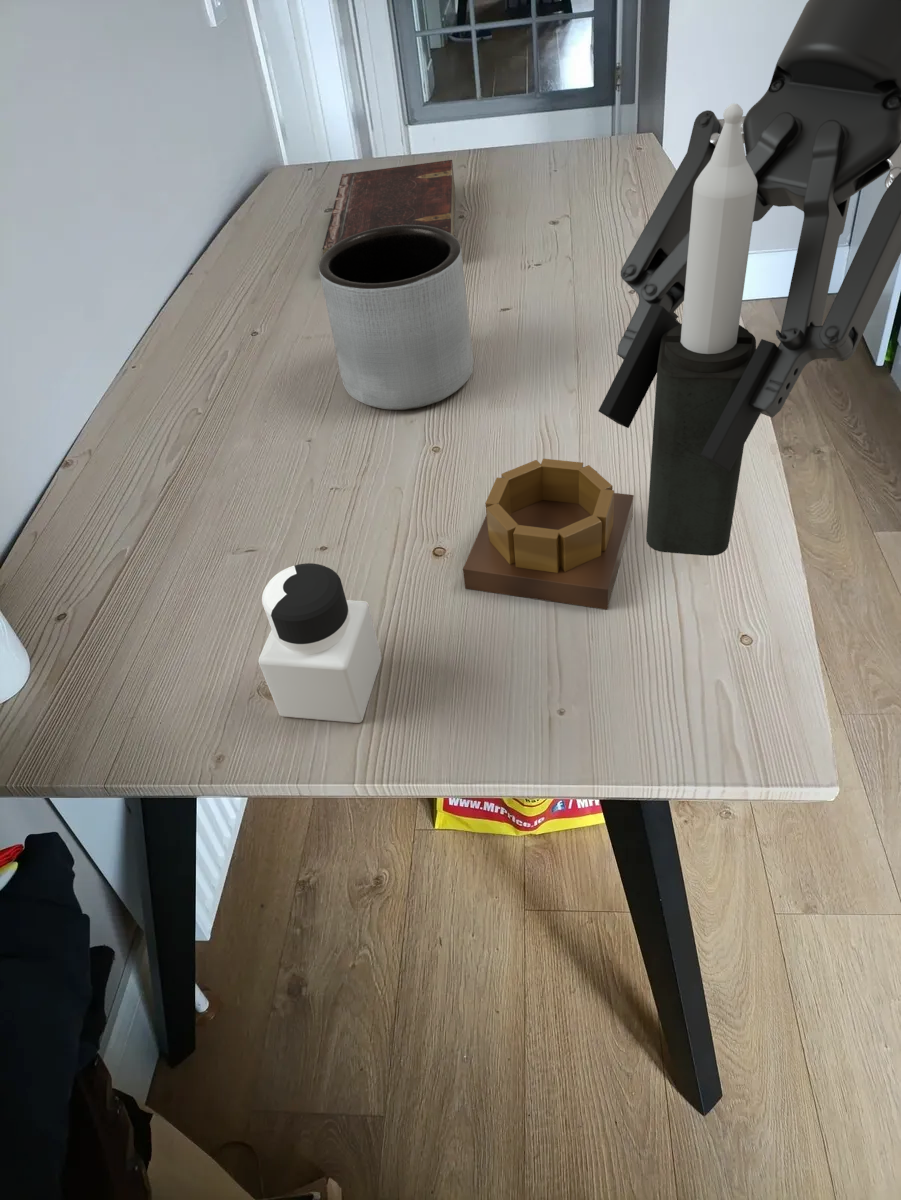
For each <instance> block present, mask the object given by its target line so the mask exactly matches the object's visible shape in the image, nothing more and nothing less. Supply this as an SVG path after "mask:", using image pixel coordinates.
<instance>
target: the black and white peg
mask: <svg viewBox="0 0 901 1200" xmlns="http://www.w3.org/2000/svg"><path fill="white" fill-rule="evenodd" d="M743 116H744V110H743V108H742V106H740V104H738V103H735V102H734V103H731V104H729V105H728V106H727V107H726V108H725V109H724V111H723V114H722V117H723V119H724V120H725V124H724V126H723V129H722V131H721V134H720V137H719V139H718V142H717V144H716V147H715V150H714V152H713V155H712V157H711V160H710V161H709V163H708V164H707V165H706V167H705V168H704V169H703V171H702V172H701V173H700V175H699V176H698V178H697V179H696V181H695V184H694V187H693V199H692V211H691V223H690V235H689V246H688V258H687V270H686V282H685V294H684V301H683V306H682V307H683V308H682V318H681V319H682V321H681V323H680V324H679V325H677V326H676V327H674V328H672V329H671V330H670V331H668V332H666V333H665V334H664V335H663V336H662V339H661V344H660V351H659V358H658V365H657V373H656V381H655V383H656V384H655V396H654V413H653V426H652V427H653V429H652V442H651V443H652V444H651V457H650V460H651V461H650V475H649V490H648V505H647V519H646V535H645V537H646V538H645V541H646V544H647V545H648V546H649V547H650V548H651V549H652V550H654V551H655V552H656V551H657V552H660V553H666V554H667V553H668V554H669V553H670V554H681V555H693V556H694V555H695V556H707V557H708V556H710V557H715V556H719V555H721V554H723V553H724V552H725V551H727V549H729V544H730V538H731V533H732V532H731V531H732V525H733V520H734V513H735V506H736V500H737V493H738V486H739V480H740V474H741V467H742V461H743V455H744V449H745V444H744V445H743V447H742V449H741V451H740V453H739V455H738V457H737V458H736V460H735V462H734V464H733V466H732V468H731V470H730V471H729V472H728V471H726V470H724V469H721V468H719V467H717V466H716V465H714V464H713V463H711V462H710V461H708V460H707V459H705V458H704V457H702V456H701V455H700V454H701V453H702V451H703V449H704V447H705V445H706V443H707V441H708V439H709V437H710V436H711V434H712V432H713V430H714V428H715V426H716V424H717V422H718V420H719V419H720V417H721V415H722V413H723V411H724V409H725V407H726V405H727V403H728V402H729V400H730V398H731V396H732V394H733V392H734V390H735V388H736V386H737V385H738V383H739V381H740V379H741V377H742V375H743V373H744V371H745V369H746V368H747V366H748V364H749V362H750V360H751V358H752V356H753V354H754V352H755V351H756V349H757V339H756V337H755V335H754V334H753V333H751V332H750V331H749V330H748V329H747V328H745V327H744V326H742V325H741V324H740V319H741V313H742V304H743V297H744V290H745V282H746V276H747V269H748V260H749V253H750V252H749V251H750V244H751V237H752V230H753V223H754V222H753V216H754V209H755V201H756V194H757V186H758V185H757V180H756V177H755V175H754V173H753V171H752V169H751V167H750V166H749V164H748V162H747V160H746V150H745V143H744V144H743V139H742V133H741V127H740V120H741V118H742V117H743Z"/></svg>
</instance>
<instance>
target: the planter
mask: <svg viewBox="0 0 901 1200" xmlns="http://www.w3.org/2000/svg"><path fill="white" fill-rule="evenodd" d="M318 273H319V278H320V283H321V287H322V291H323V296H324V300H325V306H326V311H327V314H328V319H329V324H330V325H329V326H330V330H331V335H332V339H333V345H334V350H335V354H336V360H337V364H338V369H339V374H340V379H341V382H342V385H343V387H344V389H345V391H346V392H347V394H348V395H349V396H350V397H351V398H353V399H354V400H356V401H358V402H360V403H362V404H364V405H367V406H370V407H372V408H378V409H381V410H388V411H407V410H413V409H414V410H415V409H421V408H424V407H428V406H430V405H433V404H436V403H439V402H441V401H443V400H445V399H446V398H448V397H450V396H451V395H453V394H455V393H456V392H458V391H459V390H460V389H461V388H462V387H463V386H464V385H465V384H466V383H467V382H468V380H470V377H471V375H472V373H473V370H474V350H473V342H472V333H471V332H472V331H471V325H470V316H469V309H468V299H467V290H466V282H465V281H466V280H465V273H464V263H463V253H462V245H461V243H460V241H459V240H458V238H457V237H456V235H454V236H453V235H452V234H450V233H448V232H446V231H444V230H441V229H438V228H434V227H429V226H422V225H395V226H387V227H381V228H376V229H371V230H368V231H364V232H361V233H358V234H355V235H352V236H350V237H348V238H346V239H344V240H342V241H340V242H338V243H337V244H335V245H334V246H332V247H331V248H330V249H328V250H327V251H326V252H325V253H324V255H323V256H322V255H321V258H320V259H319V262H318Z"/></svg>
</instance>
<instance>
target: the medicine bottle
mask: <svg viewBox="0 0 901 1200" xmlns="http://www.w3.org/2000/svg"><path fill="white" fill-rule="evenodd" d="M261 604H262V607H263V609H264V612H265V615H266V618H267V621H268V623H269V626H270V628H271V630H270V631H269V634H268V636H267V638H266V641H265V643H264V645H263V648H262V650H261V652H260V655H259V657H258V664H259V667H260V670H261V672H262V675H263V677H264V680H265V682H266V685H267V687H268V690H269V692H270V695H271V697H272V700H273V702H274V705H275V707H276V711H277V712H278V715H279V716H280V717H283V718H296V719H305V720H306V719H308V720H317V721H329V722H339V723H340V722H342V723H352V724H353V723H354V724H355V723H356V724H360V723H362V722H363V720H364V717H365V714H366V711H367V708H368V704H369V701H370V698H371V695H372V691H373V688H374V685H375V681H376V678H377V675H378V672H379V669H380V665H381V662H382V653H381V649H380V646H379V645H380V644H379V641H378V636H377V633H376V629H375V625H374V620H373V616H372V612H371V609H370V608H371V607H370V605H369V603H368V601H366V600H352V599H347V598H346V594H345V590H344V586H343V583H342V580H341V577H340V576H339V574H338V573H337V572H336V571H335V570H334V569H332V568H331V567H328V566H326V565H323V564H319V563H313V562H312V563H310V562H308V563H299V564H294V565H292V566H289V567H286V568H284V569H282V570H280V571H279V572H278V573H276V574H275V575H274V576H273V577H272V578H271V579H270V580H269V581H268V582H267V584H266V585H265V587H264V589H263V591H262V595H261Z"/></svg>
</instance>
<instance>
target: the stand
mask: <svg viewBox="0 0 901 1200" xmlns="http://www.w3.org/2000/svg"><path fill="white" fill-rule="evenodd" d="M500 476H501V477H497V476H496V478H495V480H494V483H493V485H492V487H491V490H490V492H489V493H488V496H487V499H486V501H485V505H484V506H485V513H486V514H485V517H484V520H483V521H482V524H481V526H480V529H479V531H478V533H477V535H476V538H475V540H474V542H473V545H472V547H471V549H470V551H469V553H468V556H467V559H466V560H465V563H464V565H463V567H462V574H463V581H464V588H465V589H466V590H473V591H477V592H486V593H493V594H498V595H505V596H506V595H507V596H512V597H519V598H520V597H521V598H525V599H526V598H527V599H533V600H541V601H545V602H554V603H560V604H567V605H573V606H579V607H587V608H593V609H601V610H608V609H609V605H610V602H611V598H612V594H613V591H614V587H615V584H616V579H617V575H618V572H619V568H620V565H621V560H622V557H623V553H624V549H625V546H626V542H627V538H628V535H629V530H630V526H631V523H632V520H633V516H634V499H635V496H634V494H629V493H628V494H627V493H621V492H620V493H618V492H615V490H613V485H612V484H611V483H610V482H609V481H608V480H607V479H605V477H604V476H602V475H601V474H600V473H599V472H598V471H596V470H595V468H593V467H592V466H591V465H589V464H588V465H585V466H584V462H580V461H570V460H561V459H551V458H542V460H541V463H540V462H539V461H538V460H537V459H534V460H531V461H530V462H527V463H524V464H522V465H520V466H517V467H515V468H513V469H510V470H508V471H507V470H506V471H505V472H503V473H501V474H500Z"/></svg>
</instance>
